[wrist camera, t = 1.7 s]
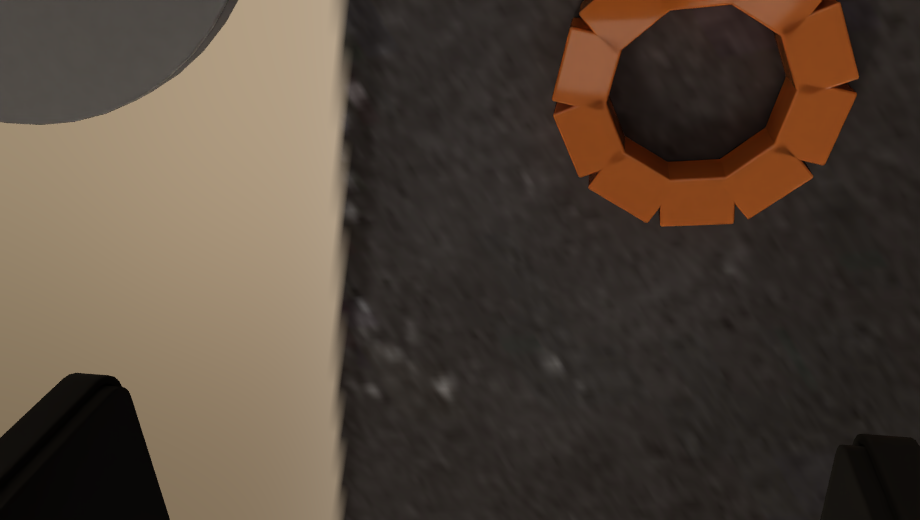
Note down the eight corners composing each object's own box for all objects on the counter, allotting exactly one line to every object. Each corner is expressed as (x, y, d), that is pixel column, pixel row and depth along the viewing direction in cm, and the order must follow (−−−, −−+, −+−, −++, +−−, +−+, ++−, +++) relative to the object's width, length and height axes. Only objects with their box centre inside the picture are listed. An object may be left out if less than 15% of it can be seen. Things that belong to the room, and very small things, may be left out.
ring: (532, 175, 29) (527, 194, 27) (600, -95, 24) (599, -91, 23) (773, 234, 28) (783, 257, 27) (892, -31, 24) (912, -22, 22)
